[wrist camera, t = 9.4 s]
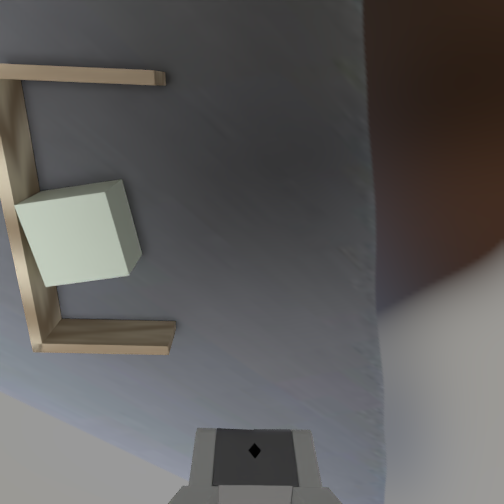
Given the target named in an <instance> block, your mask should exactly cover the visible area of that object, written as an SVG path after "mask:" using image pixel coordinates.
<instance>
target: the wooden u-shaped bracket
mask: <svg viewBox="0 0 504 504" xmlns="http://www.w3.org/2000/svg"><path fill="white" fill-rule="evenodd" d="M21 80H40V81H64V82H87V83H111V84H135V85H165V86H166V79H165V72H161V71H155V70H135V69H112V68H89V67H66V66H43V65H20V64H0V198H1V203H2V208H3V213H4V217H5V222H6V227H7V231H8V236H9V241H10V246H11V250H12V255H13V260H14V265H15V269H16V274H17V279H18V283H19V288H20V293H21V298H22V302H23V307H24V312H25V316H26V321H27V326H28V331H29V335H30V340H31V345H32V349H33V352H50V353H98V354H146V355H169V352H170V348H171V345H172V341H173V338H174V334H175V331H176V321H142V320H100V319H62V317H61V312H60V306H59V300H58V294H57V288H56V286H50V287H46V286H45V284H44V281H43V279H42V276H41V274H40V271H39V268H38V266H37V263H36V261H35V258H34V256H33V253H32V250H31V248H30V245H29V243H28V240H27V237H26V235H25V232H24V230H23V227H22V225H21V222H20V219H19V217H18V214H17V212H16V209H15V207H14V205H15V204H17V203H19V202H21V201H23V200H25V199H27V198H29V197H31V196H33V195H35V194H37V193H39V192H40V189H39V183H38V177H37V171H36V166H35V160H34V154H33V148H32V142H31V136H30V131H29V125H28V119H27V113H26V107H25V101H24V96H23V90H22V84H21Z"/></svg>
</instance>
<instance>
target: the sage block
mask: <svg viewBox="0 0 504 504" xmlns="http://www.w3.org/2000/svg"><path fill="white" fill-rule="evenodd" d="M14 207H15V209H16V212H17V214H18V217H19V219H20V222H21V225H22V227H23V230H24V232H25V235H26V237H27V240H28V243H29V245H30V248H31V250H32V253H33V256H34V258H35V261H36V263H37V266H38V268H39V271H40V274H41V276H42V279H43V281H44V284H45V286H46V287H50V286H57V285H64V284H72V283H79V282H86V281H93V280H101V279H108V278H115V277H122V276H129V275H130V274H131V272H132V270H133V269H134V267H135V265H136V264H137V262H138V260H139V259H140V257H141V256H142V251H141V248H140V244H139V240H138V237H137V233H136V229H135V226H134V222H133V218H132V215H131V211H130V207H129V204H128V200H127V196H126V193H125V189H124V185H123V182H122V179H120V180H113V181H106V182H99V183H93V184H86V185H79V186H72V187H65V188H59V189H52V190H45V191H41V192H39V193H37V194H35V195H33V196H31V197H29V198H27V199H25V200H23V201H21V202H19V203H17V204H15V205H14Z"/></svg>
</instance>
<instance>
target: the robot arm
mask: <svg viewBox="0 0 504 504" xmlns="http://www.w3.org/2000/svg"><path fill="white" fill-rule="evenodd" d="M168 504H342V503H341V502H340V500H339V499H338V498H337V497H336V496H335V495H334V494H333V492H332V491H331V490H330V489H329V488H327V487H322V483H321V478H320V473H319V467H318V462H317V457H316V452H315V447H314V442H313V437H312V433H311V431H310V430H290V429H254V430H245V429H221V428H217V429H214V428H197V431H196V436H195V443H194V450H193V458H192V465H191V472H190V479H189V486H183V487H181V489H180V490H179V491H178V492H177V493H176V495H175V496H174V497H173V498H172V499H171V501H170V502H169V503H168Z"/></svg>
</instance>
